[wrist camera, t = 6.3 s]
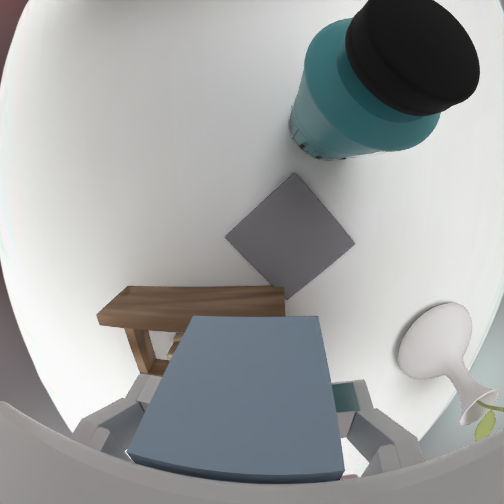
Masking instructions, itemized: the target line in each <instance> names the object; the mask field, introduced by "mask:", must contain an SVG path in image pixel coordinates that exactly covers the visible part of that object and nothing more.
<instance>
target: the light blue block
mask: <svg viewBox="0 0 504 504" xmlns="http://www.w3.org/2000/svg"><path fill="white" fill-rule="evenodd" d="M126 452H127V453H128V455H129V456H130V457H131V459H132V460H133V461H134V462H135V463H136V464H139V465H143V466H146V467H150V468H154V469H158V470H162V471H166V472H171V473H176V474H181V475H186V476H191V477H197V478H204V479H211V480H218V481H227V482H239V483H254V484H303V483H319V482H330V481H339V480H340V478H341V476H342V475H343V473H344V471H345V468H344V460H343V453H342V446H341V439H340V432H339V426H338V419H337V413H336V407H335V401H334V396H333V390H332V384H331V379H330V374H329V368H328V363H327V358H326V353H325V348H324V343H323V338H322V334H321V329H320V324H319V320H318V316H296V317H219V316H193V317H192V319H191V321H190V323H189V325H188V327H187V329H186V331H185V333H184V335H183V337H182V339H181V341H180V343H179V345H178V347H177V349H176V351H175V353H174V355H173V357H172V359H171V361H170V363H169V365H168V367H167V369H166V371H165V373H164V375H163V377H162V379H161V381H160V383H159V385H158V387H157V389H156V391H155V393H154V395H153V397H152V399H151V401H150V403H149V405H148V407H147V409H146V411H145V413H144V416H143V418H142V420H141V422H140V424H139V426H138V428H137V430H136V432H135V434H134V437H133V439H132V441H131V443H130V445H129V447H128V449H127V451H126Z"/></svg>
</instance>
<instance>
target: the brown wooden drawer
mask: <svg viewBox="0 0 504 504" xmlns="http://www.w3.org/2000/svg"><path fill="white" fill-rule="evenodd" d="M193 316H219V317H285V301H284V287H274V286H236V287H148V286H127V287H126V288H125V289H124V290H123V291H122V292H121V293H119V294H118V295H117V296H116V297H115V298H114V299H113V300H112V301H111V302H110V303H108V304H107V305H106V306H105V307H104V308H103V309H102V310H101V311H100V312H99V313H98V314H97V318H98V321H99V324H100V325H103V326H111V327H120V328H124V329H125V332H126V335H127V338H128V341H129V344H130V347H131V350H132V352H133V355H134V358H135V361H136V363H137V366H138V369H139V371H140V374H141V373H142V374H147V375H153V376H159V377H163V375H164V373H165V371H166V369H167V367H168V365H169V363H170V362H169V361H167V360H158V359H156V357H155V354H154V351H153V348H152V344H151V341H150V338H149V334H148V331H147V330H152V331H166V332H182V333H185V331H186V329H187V327H188V325H189V323H190V321H191V319H192V317H193Z"/></svg>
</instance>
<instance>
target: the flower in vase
mask: <svg viewBox="0 0 504 504" xmlns="http://www.w3.org/2000/svg"><path fill="white" fill-rule="evenodd" d="M471 333H472V321H471V318H470V314H469V312H468V310H467V309H466V308H465V307H464V306H462V305H460V304H456V303H448V304H442V305H439V306H436V307H434V308H432V309H430V310H429V311H427V312H425V313H424V314H423V315H422V316H420V317H419V318H418V319H417V320H416V321H415V322H414V323H413V324H412V326H411V327H410V328H409V330H408V331H407V333H406V334H405V336H404V338H403V340H402V342H401V345H400V349H399V353H398V364H399V367H400V369H401V370H402V371H403V372H404V373H405V374H406V375H408V376H409V377H411V378H414V379H430V378H435V377H438V376H441V375H445V376H447V377H448V378H449V379H450V380H451V382H452V383H453V385H454V387H455V388H456V390H457V393H458V395H459V398H460V402H461V417H460V425H463V426H464V425H469V424H471V423H473V422H475V421H477V420H478V419H479V418H481V417H482V416H483V415H484V414H486V413H487V412H488V411H489V410H490V409H493V410H498V411H503V412H504V408H502V407H495V406H493V405H494V404H495V402H496V400H497V398H498V396H499V391H498V390H497V389H490V388H486V387H484V386H482V385H481V384H480V383H479V382H477V381H476V380H475V378H474V377H473V376H472V375H471V374H470V373H469V371H468V370H467V368H466V367H465V365H464V362H463V356H464V354H465V352H466V350H467V347H468V345H469V342H470V338H471ZM495 423H496V418H495V415H494V412H493V411H491V410H490V411H489V412H488V413H487V414H486V415H485V417H484V418H483V419H482V420H481V422H480V423H479V424H478V426H477V428H476V431H475V442H477V441H479V440H481V439H483V438H485V437H487V436H488V435H489V434H490V432H491V431H492V429H493V428H494V426H495Z"/></svg>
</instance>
